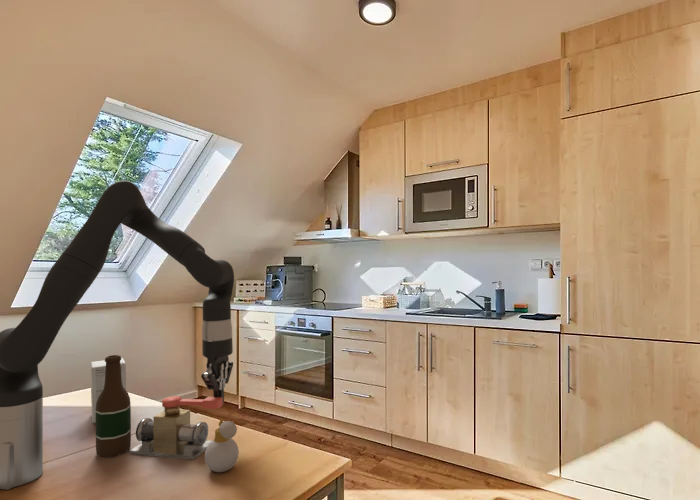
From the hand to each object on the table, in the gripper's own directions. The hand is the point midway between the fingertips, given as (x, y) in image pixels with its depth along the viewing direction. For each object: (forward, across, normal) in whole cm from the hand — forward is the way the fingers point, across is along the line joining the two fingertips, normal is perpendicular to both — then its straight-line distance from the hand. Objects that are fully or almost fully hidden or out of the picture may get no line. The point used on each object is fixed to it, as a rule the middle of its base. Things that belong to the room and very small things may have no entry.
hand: (218, 403), depth 113 cm
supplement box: (+11, -14, -45) cm, 49 cm away
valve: (+11, +4, -11) cm, 16 cm away
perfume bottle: (+11, +13, +8) cm, 19 cm away
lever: (0, +4, -5) cm, 7 cm away
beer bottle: (+11, +8, -25) cm, 28 cm away
